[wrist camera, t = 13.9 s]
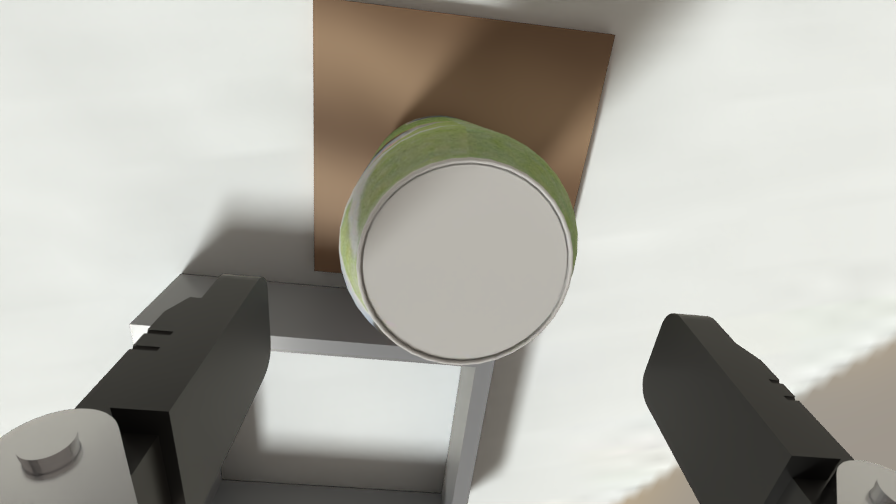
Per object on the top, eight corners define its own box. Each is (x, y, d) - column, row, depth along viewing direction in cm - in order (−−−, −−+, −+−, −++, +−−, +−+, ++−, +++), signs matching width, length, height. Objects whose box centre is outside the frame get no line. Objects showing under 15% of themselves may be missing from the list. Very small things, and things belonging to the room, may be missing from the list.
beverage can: (361, 226, 23) (293, 410, 12) (389, 63, 20) (330, 115, 9) (490, 252, 24) (534, 448, 13) (536, 99, 21) (645, 187, 10)
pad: (316, -3, 19) (312, -4, 19) (610, 34, 20) (615, 34, 20) (317, 265, 24) (314, 270, 24) (551, 286, 25) (553, 292, 25)
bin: (180, 273, 24) (129, 324, 20) (486, 300, 26) (496, 354, 21) (210, 487, 31) (175, 558, 27) (452, 502, 32) (454, 572, 28)
